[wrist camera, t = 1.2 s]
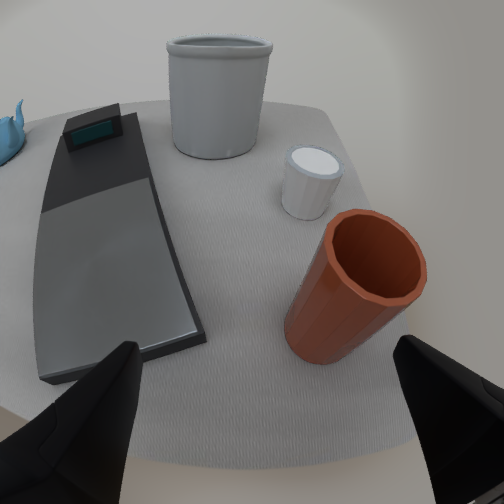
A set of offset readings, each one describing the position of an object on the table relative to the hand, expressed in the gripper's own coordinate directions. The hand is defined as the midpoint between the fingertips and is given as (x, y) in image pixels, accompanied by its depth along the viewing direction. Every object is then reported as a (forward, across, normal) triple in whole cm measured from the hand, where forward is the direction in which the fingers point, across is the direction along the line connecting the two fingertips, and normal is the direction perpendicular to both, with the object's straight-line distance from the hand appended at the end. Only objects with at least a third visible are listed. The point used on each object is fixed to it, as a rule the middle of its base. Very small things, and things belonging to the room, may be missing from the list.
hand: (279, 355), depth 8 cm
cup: (+13, -7, +10) cm, 17 cm away
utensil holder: (+41, +4, -6) cm, 41 cm away
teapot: (+45, +56, -8) cm, 72 cm away
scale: (+27, +19, +2) cm, 33 cm away
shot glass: (+27, -8, +2) cm, 28 cm away
